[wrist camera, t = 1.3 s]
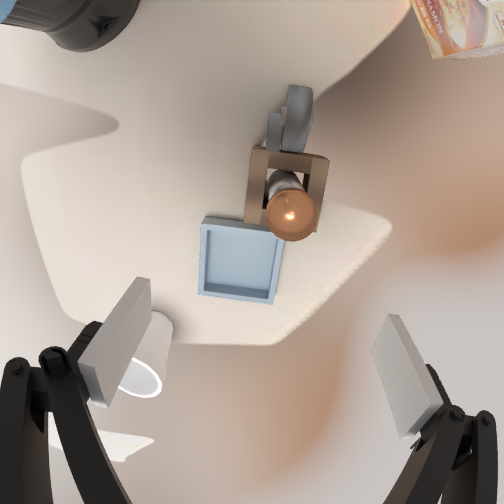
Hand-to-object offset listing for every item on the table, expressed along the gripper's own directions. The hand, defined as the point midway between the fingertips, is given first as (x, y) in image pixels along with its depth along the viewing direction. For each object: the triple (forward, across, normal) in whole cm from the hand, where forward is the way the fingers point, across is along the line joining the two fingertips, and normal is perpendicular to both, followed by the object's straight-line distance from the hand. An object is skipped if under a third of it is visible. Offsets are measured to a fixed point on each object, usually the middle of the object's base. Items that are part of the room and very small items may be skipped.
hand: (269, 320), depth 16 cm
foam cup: (+27, -16, -25) cm, 40 cm away
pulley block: (+27, +1, +6) cm, 27 cm away
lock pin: (+27, +2, +2) cm, 27 cm away
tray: (+27, -2, -10) cm, 28 cm away
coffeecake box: (+27, +20, +34) cm, 47 cm away
